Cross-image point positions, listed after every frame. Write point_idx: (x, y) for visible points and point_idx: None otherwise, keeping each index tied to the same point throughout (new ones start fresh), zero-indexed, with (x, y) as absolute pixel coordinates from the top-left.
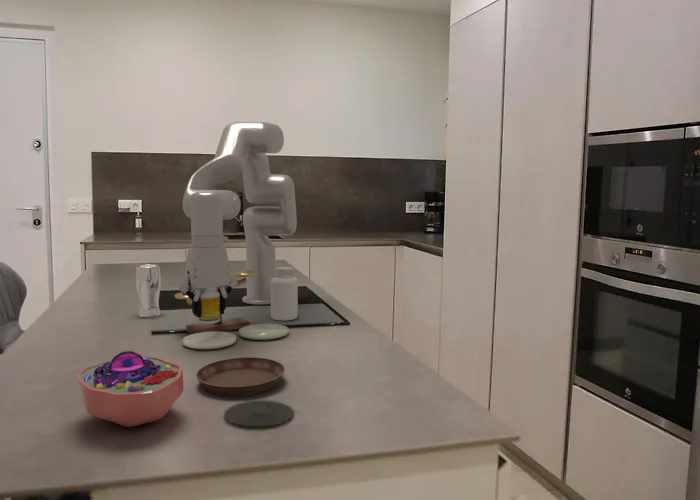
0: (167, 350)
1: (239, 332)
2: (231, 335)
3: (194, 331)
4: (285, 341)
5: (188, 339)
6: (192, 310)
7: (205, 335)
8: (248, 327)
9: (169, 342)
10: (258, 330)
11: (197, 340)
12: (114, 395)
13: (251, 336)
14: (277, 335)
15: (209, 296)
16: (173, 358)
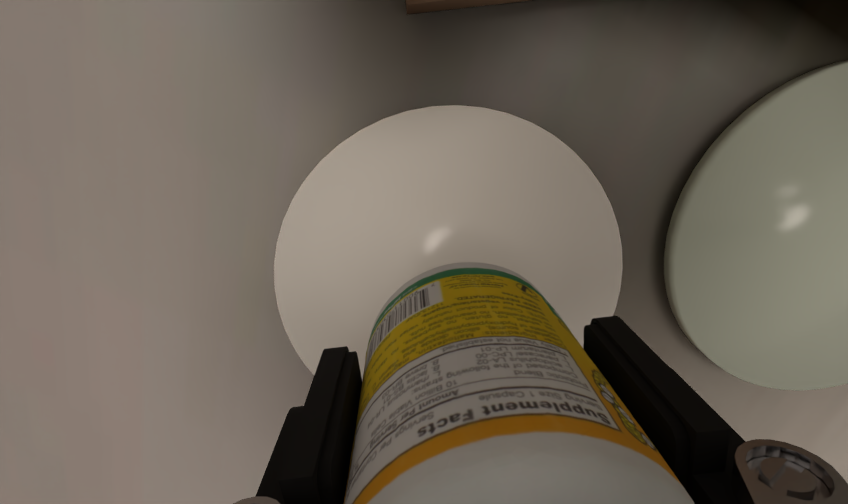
0: (185, 296)
1: (681, 226)
2: (598, 284)
3: (409, 7)
4: (821, 402)
5: (314, 254)
6: (289, 425)
7: (445, 208)
8: (804, 129)
9: (208, 121)
10: (808, 245)
11: (365, 301)
12: None
13: (695, 342)
14: (828, 384)
15: None
16: (209, 438)
